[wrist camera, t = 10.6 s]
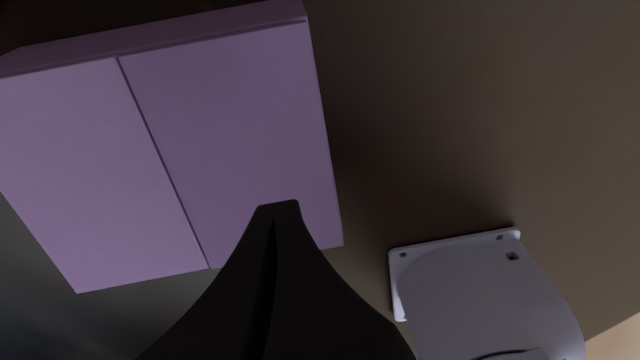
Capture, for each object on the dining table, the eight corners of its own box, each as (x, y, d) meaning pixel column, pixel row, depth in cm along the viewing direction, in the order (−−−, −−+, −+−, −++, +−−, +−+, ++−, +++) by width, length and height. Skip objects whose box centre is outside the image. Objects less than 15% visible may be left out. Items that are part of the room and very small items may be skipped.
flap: (79, 288, 20) (76, 294, 20) (-67, 89, 14) (-75, 92, 14) (209, 262, 20) (208, 268, 20) (117, 53, 14) (114, 56, 14)
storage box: (117, 218, 25) (75, 295, 20) (20, 47, 19) (-78, 92, 14) (331, 179, 25) (346, 246, 20) (300, -6, 19) (308, 19, 14)
